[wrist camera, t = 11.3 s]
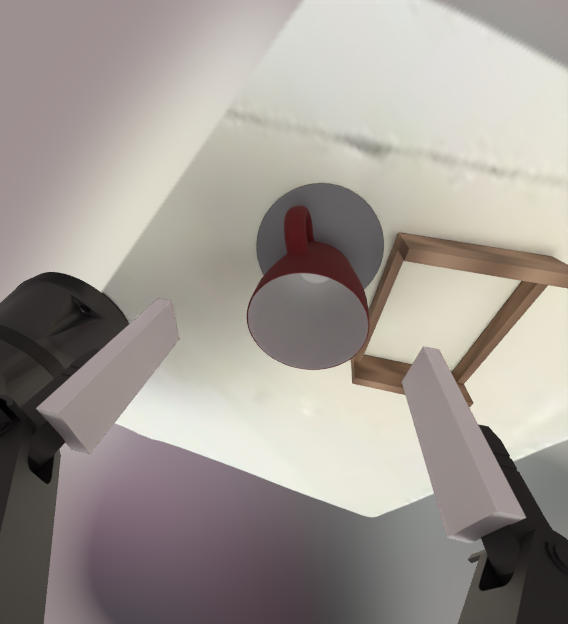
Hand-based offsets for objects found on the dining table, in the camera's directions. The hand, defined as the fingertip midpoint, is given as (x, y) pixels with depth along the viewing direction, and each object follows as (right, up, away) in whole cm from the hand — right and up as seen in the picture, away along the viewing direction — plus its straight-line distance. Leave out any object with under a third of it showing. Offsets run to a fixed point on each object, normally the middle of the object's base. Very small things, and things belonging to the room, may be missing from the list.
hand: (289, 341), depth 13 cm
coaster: (+3, +7, +11) cm, 13 cm away
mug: (+2, +7, +10) cm, 13 cm away
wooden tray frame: (+15, +1, +12) cm, 20 cm away
